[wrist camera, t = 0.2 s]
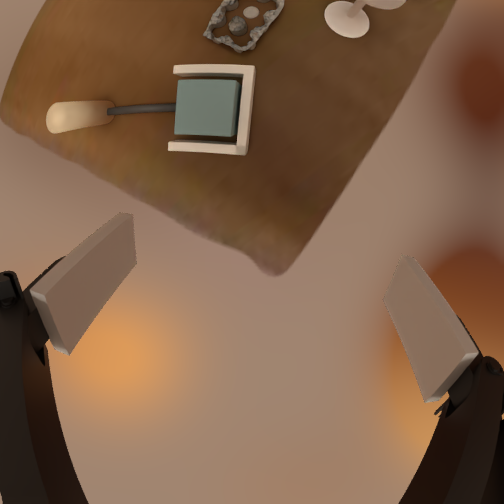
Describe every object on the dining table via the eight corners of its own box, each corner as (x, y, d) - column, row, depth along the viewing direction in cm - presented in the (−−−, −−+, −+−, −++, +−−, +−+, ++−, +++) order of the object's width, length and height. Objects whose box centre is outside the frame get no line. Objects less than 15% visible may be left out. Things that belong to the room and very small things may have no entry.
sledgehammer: (97, 93, 33) (47, 94, 22) (241, 86, 32) (227, 72, 22) (95, 133, 36) (46, 146, 25) (237, 133, 35) (221, 140, 25)
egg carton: (244, -12, 25) (241, -24, 21) (289, 9, 26) (291, -2, 22) (202, 38, 29) (195, 30, 25) (247, 60, 30) (244, 53, 27)
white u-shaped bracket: (182, 69, 31) (174, 65, 28) (256, 70, 31) (254, 65, 28) (176, 147, 37) (168, 150, 34) (247, 152, 37) (245, 155, 33)
